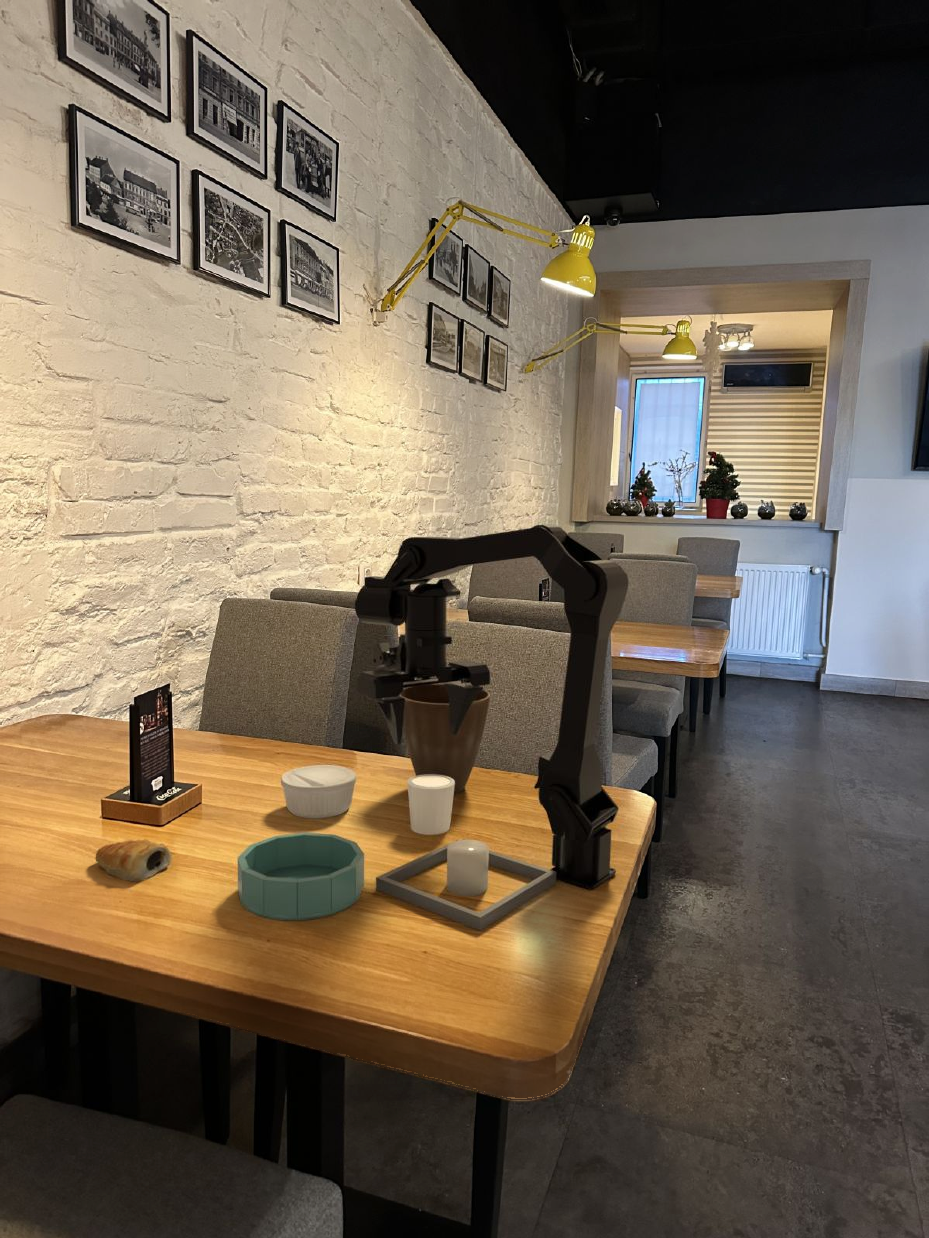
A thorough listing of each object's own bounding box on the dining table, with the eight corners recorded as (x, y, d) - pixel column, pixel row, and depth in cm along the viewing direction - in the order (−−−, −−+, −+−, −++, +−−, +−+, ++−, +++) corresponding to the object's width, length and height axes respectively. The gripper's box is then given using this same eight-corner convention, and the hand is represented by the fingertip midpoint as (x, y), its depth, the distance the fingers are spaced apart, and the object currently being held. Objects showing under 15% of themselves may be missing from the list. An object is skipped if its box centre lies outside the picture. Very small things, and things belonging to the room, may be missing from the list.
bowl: (386, 889, 101) (387, 853, 101) (295, 933, 90) (295, 893, 89) (306, 857, 110) (306, 824, 109) (214, 894, 99) (213, 857, 98)
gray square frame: (556, 883, 104) (556, 871, 104) (480, 930, 92) (480, 917, 91) (456, 850, 113) (456, 839, 113) (375, 889, 101) (376, 877, 101)
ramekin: (268, 817, 124) (268, 782, 124) (300, 793, 135) (300, 761, 135) (339, 825, 122) (339, 790, 121) (366, 800, 133) (366, 768, 132)
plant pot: (497, 800, 134) (499, 701, 132) (403, 805, 131) (405, 704, 129) (476, 772, 148) (479, 683, 146) (392, 775, 145) (393, 684, 143)
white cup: (397, 830, 120) (397, 782, 119) (421, 815, 126) (422, 770, 125) (439, 839, 117) (440, 791, 116) (462, 824, 123) (463, 778, 122)
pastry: (81, 871, 105) (80, 841, 104) (123, 852, 111) (122, 824, 110) (138, 886, 101) (138, 855, 101) (178, 865, 107) (178, 836, 107)
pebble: (495, 885, 103) (497, 846, 102) (470, 899, 99) (472, 859, 98) (463, 874, 106) (464, 836, 105) (438, 887, 102) (438, 848, 101)
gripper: (448, 618, 128) (448, 719, 129) (337, 626, 117) (339, 736, 119) (493, 626, 119) (492, 734, 120) (377, 635, 108) (378, 754, 110)
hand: (425, 739), depth 118 cm, fingers open, 9 cm apart
